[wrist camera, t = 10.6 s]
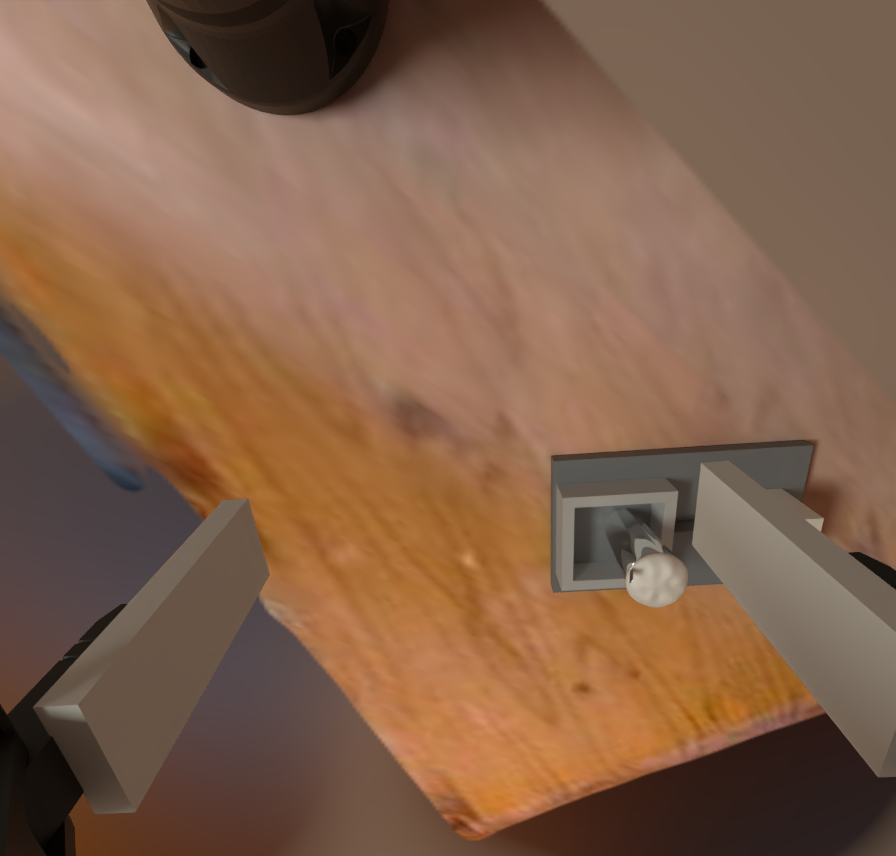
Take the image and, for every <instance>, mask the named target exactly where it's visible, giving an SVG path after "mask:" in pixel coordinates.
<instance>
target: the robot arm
mask: <svg viewBox="0 0 896 856" xmlns="http://www.w3.org/2000/svg"><path fill="white" fill-rule="evenodd" d="M146 1H147V3H148V5H149V7H150V8H151V10H152V12H153V14H154V16H155V18H156V20H157V22H158V23H159V25H160V27H161V29H162V30H163V32H164V34H165V35H166V37H167V38H168V39H169V41H170V42H171V44H172V45H173V46H174V48H175V49H176V50H177V52H178V53H179V54H180V55H181V56H182V57H183V59H184V60H185V61H186V62H187V63H188V64H189V65H190V66H191V67H192V68H193V69H194V70H195V71H196V72H197V73H198V74H199V75H200V76H201V77H203V78H204V79H205V80H206V81H208V82H209V83H210V84H212V85H213V86H214V87H216V88H217V89H219V90H220V91H221V92H223V93H224V94H226V95H227V96H229V97H230V98H232V99H233V100H235V101H237V102H239V103H241V104H243V105H245V106H247V107H250V108H252V109H255V110H259V111H262V112H266V113H272V114H283V115H290V114H300V113H305V112H310V111H313V110H316V109H318V108H321V107H323V106H325V105H327V104H329V103H331V102H333V101H334V100H336V99H337V98H339V97H340V96H341V95H342V94H344V93H345V92H346V91H347V90H348V89H349V88H350V87H351V86H352V85H353V84H354V83H355V82H356V81H357V80H358V79H359V77H360V76H361V75H362V73H363V72H364V71H365V69H366V67H367V66H368V64H369V63H370V61H371V59H372V57H373V55H374V53H375V51H376V49H377V46H378V43H379V41H380V38H381V35H382V32H383V28H384V24H385V20H386V15H387V9H388V0H146ZM692 545H693V547H694V548H695V549H696V550H697V552H698V553H699V554H700V555H701V557H702V558H703V559H704V560H705V562H706V563H707V564H708V565H709V567H710V568H711V569H712V570H713V572H714V573H715V574H716V575H717V577H718V578H719V579H720V580H721V582H722V583H723V584H724V585H725V587H726V588H727V589H728V590H729V592H730V593H731V594H732V595H733V597H734V598H735V599H736V600H737V602H738V603H739V604H740V605H741V607H742V608H743V609H744V610H745V612H746V613H747V614H748V615H749V617H750V618H751V619H752V620H753V622H754V623H755V624H756V625H757V627H758V628H759V629H760V630H761V632H762V633H763V634H764V635H765V637H766V638H767V639H768V640H769V642H770V643H771V644H772V645H773V647H774V648H775V649H776V650H777V652H778V653H779V654H780V655H781V657H782V658H783V659H784V660H785V662H786V663H787V664H788V665H789V667H790V668H791V669H792V670H793V672H794V673H795V674H796V675H797V676H798V678H799V679H800V680H801V681H802V683H803V684H804V685H805V686H806V688H807V689H808V690H809V691H810V693H811V694H812V695H813V696H814V698H815V699H816V700H817V701H818V703H819V704H820V705H821V706H822V708H823V709H824V710H825V711H826V713H827V714H828V715H829V716H830V718H831V719H832V720H833V721H834V723H835V724H836V725H837V726H838V728H839V729H840V730H841V731H842V733H843V734H844V735H845V736H846V738H847V739H848V740H849V741H850V742H851V744H852V745H853V746H854V748H855V749H856V750H857V751H858V753H859V754H860V755H861V756H862V758H863V759H864V760H865V761H866V763H867V764H868V765H869V766H870V768H871V769H872V770H873V771H874V773H875V774H876V775H877V776H878V777H894V776H896V571H895V570H894V569H893V568H891V567H890V566H888V565H886V564H884V563H881V562H879V561H877V560H875V559H873V558H871V557H869V556H867V555H865V554H862V553H860V552H853V553H847V552H846V551H845V550H843V549H842V548H841V547H840V546H838V545H837V544H836V543H834V542H833V541H832V540H831V539H829V538H828V537H827V536H825V535H824V534H823V533H822V532H820V531H819V530H818V529H816V528H815V527H814V526H812V525H811V524H810V523H809V522H807V521H806V520H805V519H803V518H802V517H801V516H800V515H798V514H797V513H796V512H794V511H793V510H792V509H791V508H789V507H788V506H787V505H785V504H784V503H783V502H781V501H780V500H779V499H778V498H776V497H775V496H774V495H772V494H771V493H770V492H769V491H767V490H766V489H765V488H763V487H762V486H761V485H760V484H758V483H757V482H756V481H754V480H753V479H752V478H750V477H749V476H748V475H747V474H745V473H744V472H743V471H741V470H740V469H739V468H738V467H736V466H735V465H734V464H732V463H731V462H730V461H720V462H707V463H701V468H700V477H699V486H698V495H697V504H696V513H695V522H694V531H693V539H692ZM269 575H270V574H269V570H268V567H267V563H266V560H265V556H264V553H263V549H262V546H261V542H260V539H259V535H258V532H257V528H256V525H255V521H254V518H253V514H252V511H251V507H250V504H249V500H248V499H236V500H223V501H222V502H221V503H220V504H219V505H218V506H217V507H216V509H215V510H214V511H213V512H212V513H211V514H210V515H209V516H208V517H207V518H206V519H205V520H204V522H203V523H202V524H201V525H200V526H199V527H198V528H197V529H196V530H195V531H194V532H193V534H192V535H191V536H190V537H189V538H188V539H187V540H186V541H185V542H184V543H183V545H182V546H181V547H180V548H179V549H178V550H177V551H176V552H175V553H174V554H173V556H171V558H170V559H169V560H168V561H167V562H166V563H165V564H164V565H163V566H162V567H161V568H160V569H159V571H158V572H157V573H156V574H155V575H154V576H153V577H152V578H151V579H150V580H149V582H148V583H147V584H146V585H145V586H144V587H143V588H142V589H141V590H140V591H139V592H138V594H137V595H136V596H135V597H134V598H133V599H132V600H131V601H130V602H129V603H128V604H121V605H119V606H118V607H117V608H115V609H114V610H112V611H111V612H109V613H108V614H107V615H105V616H104V617H102V618H101V619H99V620H98V621H97V622H96V623H95V624H94V625H93V626H92V627H91V628H90V629H89V630H88V631H87V632H86V633H85V634H84V635H83V636H82V637H81V638H80V640H79V643H78V644H75V645H74V646H73V647H72V648H71V649H70V650H69V651H68V652H67V653H66V654H65V655H64V657H63V660H62V661H58V663H57V664H56V665H55V666H54V667H53V668H52V669H51V670H50V671H49V672H48V673H47V674H46V675H45V676H44V677H43V678H42V679H41V680H40V681H39V683H37V685H35V687H34V688H33V689H32V690H31V691H30V692H29V693H28V694H27V695H26V696H25V697H24V698H23V699H22V700H21V701H20V702H19V703H18V704H17V705H16V706H15V707H14V709H12V711H11V712H10V713H9V714H8V715H7V714H6V713H5V711H4V709H3V708H2V706H1V705H0V856H76V849H75V827H74V825H73V823H72V820H71V818H70V816H69V815H68V814H69V813H70V811H71V810H72V809H73V807H74V805H75V804H76V803H77V801H78V800H79V798H80V797H81V795H82V794H84V796H85V798H86V799H87V801H88V803H89V804H90V806H91V808H92V809H93V811H94V813H95V814H106V813H127V812H136V810H137V808H138V806H139V805H140V803H141V801H142V799H143V797H144V796H145V794H146V792H147V790H148V789H149V787H150V785H151V783H152V782H153V780H154V778H155V776H156V775H157V773H158V771H159V769H160V767H161V765H162V764H163V762H164V760H165V758H166V757H167V755H168V753H169V752H170V750H171V748H172V746H173V745H174V742H175V741H176V739H177V737H178V736H179V734H180V732H181V730H182V729H183V727H184V725H185V723H186V722H187V720H188V718H189V716H190V714H191V713H192V711H193V709H194V707H195V706H196V704H197V702H198V700H199V699H200V697H201V695H202V693H203V692H204V690H205V688H206V686H207V684H208V683H209V681H210V679H211V677H212V676H213V674H214V672H215V670H216V669H217V667H218V665H219V663H220V661H221V659H222V658H223V656H224V654H225V653H226V651H227V649H228V647H229V646H230V644H231V642H232V640H233V638H234V637H235V635H236V633H237V631H238V630H239V628H240V626H241V624H242V623H243V621H244V619H245V617H246V616H247V614H248V612H249V610H250V609H251V607H252V605H253V603H254V601H255V600H256V598H257V596H258V594H259V593H260V591H261V589H262V587H263V586H264V584H265V582H266V580H267V579H268V577H269Z"/></svg>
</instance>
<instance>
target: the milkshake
mask: <svg viewBox="0 0 896 856" xmlns="http://www.w3.org/2000/svg"><path fill="white" fill-rule="evenodd" d="M603 529H604V531H605V534H606V536H607V538H608V541H609V543H610V546H611V548H612V550H613V553H614V555H615V558H616V560H617V563H618V566H619V569H620V572H621V575H622V577H623V580H624V583H625V586H626V588H627V591H628V593H629V594H630V596H631V597H632V598H633V599H634V600H636V601H637V602H639V603H641V604H643V605H646V606H650V607H662V606H666V605H669V604H671V603H674V602H675V601H676V600H677V599H678V598H679V597H680V596H681V595H682V594H683V592H684V591H685V589H686V586H687V582H688V571H687V568H686V566H685V565H684V564H683V562H682V561H680V560H679V559H678V558H677V557H676V556H675V555H674V554H673V553H672V552H671V551H670V550H669V549H668V548H667V547H666V546H665V545H664V544H663V542H662V541H661V540H660V539H659V538H658V537H657V536H656V535H655V534H654V533H653V531H652V530H651V529H650V528H649V527H648V526H647V525H646V524H645V523H644V522H643V521H642V519H641V518H640V517H639V516H638V515H637V514H636V513H635V512H632V511H630V510H628V509H626V508H625V509H618V510H614V511H612V512H611V513H610V514H609V515H607V516H606V517H605V521H604V524H603Z"/></svg>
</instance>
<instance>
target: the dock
mask: <svg viewBox="0 0 896 856" xmlns="http://www.w3.org/2000/svg"><path fill="white" fill-rule="evenodd" d="M813 446H814V445H812V444H811V443H809V442H807V441H805V440H795V441H779V442H763V443H747V444H731V445H715V446H700V447H684V448H668V449H652V450H636V451H620V452H604V453H588V454H572V455H556V456H551V587H552V590H553V593H555V592H575V591H594V590H613V589H627V588H626V586H625V583H624V580H623V577H622V575H621V572H620V569H619V566H618V563H617V560H616V558H615V555H614V553H613V550H612V548H611V546H610V543H609V541H608V538H607V536H606V534H605V531H604V529H603V524H604V521H605V517H606V516H607V515H609V514H610V513H611V512H612V511H614V510H618V509H625V508H626V509H628V510H630V511H632V512H635V513H636V514H637V515H638V516H639V517H640V518H641V519H642V521H643V522H644V523H645V524H646V525H647V526H648V527H649V528H650V529H651V530H652V531H653V533H654V534H655V535H656V536H657V537H658V538H659V539H660V540H661V541H662V542H663V544H664V545H665V546H666V547H667V548H668V549H669V550H670V551H671V552H672V553H673V554H674V555H675V556H676V557H677V558H678V559H679V560H680V561H682V562H683V564H684V565H685V566H686V568H687V571H688V582H687V586H691V585H710V584H723V583H722V582H721V580H720V579H719V578H718V577H717V575H716V574H715V573H714V572H713V570H712V569H711V568H710V567H709V565H708V564H707V563H706V562H705V560H704V559H703V558H702V557H701V555H700V554H699V553H698V552H697V550H696V549H695V548H694V547H693V545H692V539H693V531H694V522H695V513H696V504H697V495H698V486H699V477H700V468H701V463H707V462H720V461H730V462H731V463H732V464H734V465H735V466H736V467H738V468H739V469H740V470H741V471H743V472H744V473H745V474H747V475H748V476H749V477H750V478H752V479H753V480H754V481H756V482H757V483H758V484H760V485H761V486H762V487H763V488H765V489H766V490H767V491H769V492H770V493H771V494H772V495H774V496H775V497H776V498H778V499H779V500H780V501H781V502H783V503H784V504H785V505H787V506H788V507H789V508H791V509H792V510H793V511H794V512H796V513H797V514H798V515H800V516H801V517H802V518H803V519H805V520H806V521H807V522H809V523H810V524H811V525H812V526H814V527H815V528H816V529H818V530H819V531H820V532H821V529H822V525H823V521H824V518H823V517H821V516H820V515H819V514H817V513H816V512H814V511H813V510H811V509H810V508H809V507H807V506H806V505H804V504H803V503H802V498H803V493H804V489H805V484H806V479H807V474H808V470H809V465H810V460H811V456H812V451H813Z"/></svg>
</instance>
